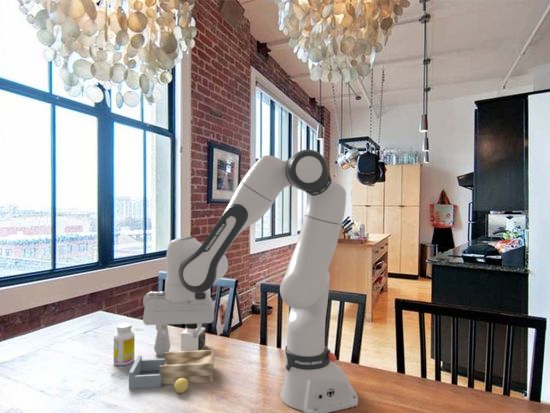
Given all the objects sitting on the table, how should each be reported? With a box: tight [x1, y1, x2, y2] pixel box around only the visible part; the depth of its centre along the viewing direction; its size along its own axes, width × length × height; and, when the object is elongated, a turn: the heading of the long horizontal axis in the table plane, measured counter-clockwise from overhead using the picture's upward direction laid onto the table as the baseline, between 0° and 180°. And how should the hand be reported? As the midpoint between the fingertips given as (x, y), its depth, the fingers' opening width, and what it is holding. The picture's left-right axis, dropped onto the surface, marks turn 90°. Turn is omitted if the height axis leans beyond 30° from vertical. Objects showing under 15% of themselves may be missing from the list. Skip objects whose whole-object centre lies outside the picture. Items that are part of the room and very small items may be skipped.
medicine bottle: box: [180, 323, 206, 351], centre depth 128 cm, size 7×7×12 cm
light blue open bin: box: [128, 355, 165, 390], centre depth 106 cm, size 9×11×5 cm
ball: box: [173, 378, 189, 394], centre depth 99 cm, size 4×4×4 cm
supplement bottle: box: [113, 322, 135, 366], centre depth 117 cm, size 7×7×13 cm
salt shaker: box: [153, 324, 171, 357], centre depth 124 cm, size 6×6×13 cm
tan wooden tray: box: [159, 349, 215, 386], centre depth 108 cm, size 16×10×6 cm, turn 99°
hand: (179, 337), depth 99 cm, fingers open, 8 cm apart
